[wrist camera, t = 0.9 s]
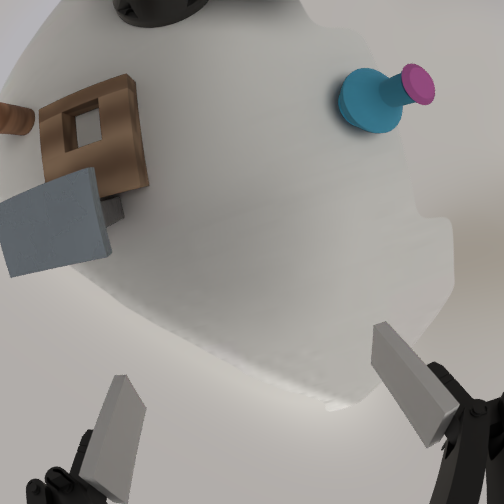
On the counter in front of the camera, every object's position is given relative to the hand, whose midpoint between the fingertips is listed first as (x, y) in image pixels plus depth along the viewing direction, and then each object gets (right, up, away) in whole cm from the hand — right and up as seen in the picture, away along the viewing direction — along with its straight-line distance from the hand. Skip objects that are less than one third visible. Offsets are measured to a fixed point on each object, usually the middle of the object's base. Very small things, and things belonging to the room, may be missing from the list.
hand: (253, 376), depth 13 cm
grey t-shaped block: (-19, +13, +21) cm, 32 cm away
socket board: (-21, +21, +19) cm, 35 cm away
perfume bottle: (+15, +27, +21) cm, 38 cm away
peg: (-36, +27, +16) cm, 47 cm away
